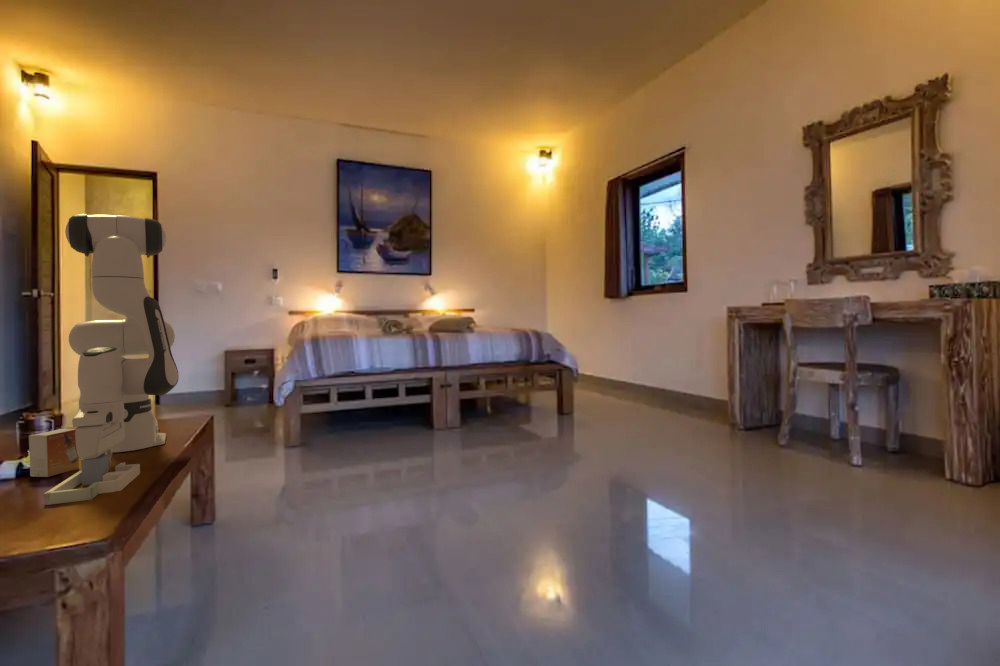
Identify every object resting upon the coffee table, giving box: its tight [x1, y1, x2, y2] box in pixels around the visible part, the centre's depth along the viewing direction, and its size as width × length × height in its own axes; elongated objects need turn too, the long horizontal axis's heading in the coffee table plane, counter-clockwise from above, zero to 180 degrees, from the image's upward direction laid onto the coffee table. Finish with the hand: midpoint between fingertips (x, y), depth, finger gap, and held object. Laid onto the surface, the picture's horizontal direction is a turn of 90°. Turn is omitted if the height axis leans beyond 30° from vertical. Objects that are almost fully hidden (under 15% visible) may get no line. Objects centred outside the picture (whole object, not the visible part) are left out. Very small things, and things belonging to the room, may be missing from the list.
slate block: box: [80, 454, 110, 487], centre depth 122 cm, size 4×4×6 cm
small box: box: [28, 428, 80, 478], centre depth 130 cm, size 8×6×10 cm
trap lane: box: [43, 461, 141, 506], centre depth 119 cm, size 22×12×2 cm, turn 20°
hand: (104, 468), depth 127 cm, fingers closed
